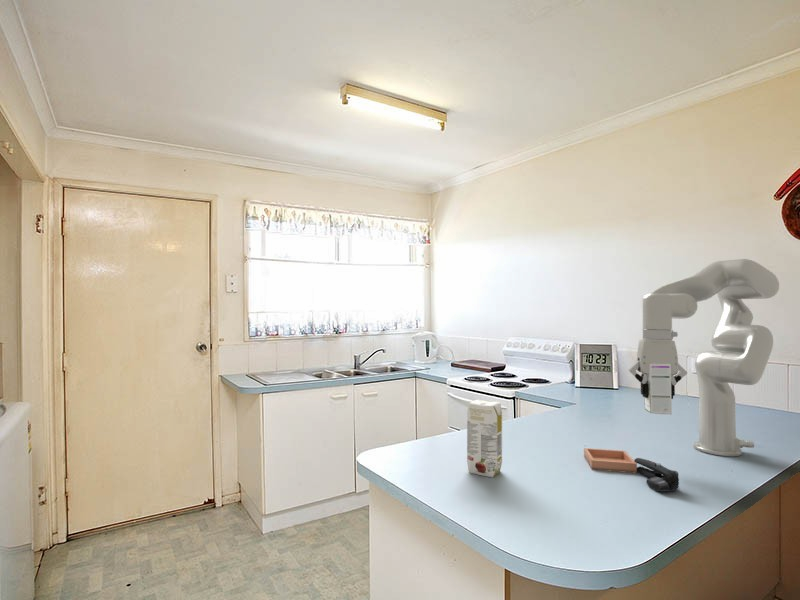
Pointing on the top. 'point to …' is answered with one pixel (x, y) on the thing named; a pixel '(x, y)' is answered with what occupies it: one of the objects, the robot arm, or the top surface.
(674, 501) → the top surface
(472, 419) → the juice carton
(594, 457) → the tray
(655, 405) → the syrup box
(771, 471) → the top surface
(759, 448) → the top surface
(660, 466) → the can opener
